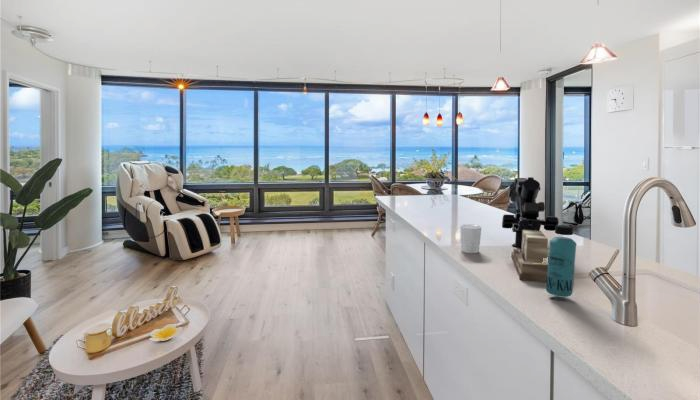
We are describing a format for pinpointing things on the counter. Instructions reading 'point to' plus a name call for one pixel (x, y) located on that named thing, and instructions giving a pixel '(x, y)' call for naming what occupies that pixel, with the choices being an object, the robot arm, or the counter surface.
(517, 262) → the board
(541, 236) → the tea box
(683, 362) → the counter surface
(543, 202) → the robot arm
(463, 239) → the white cup
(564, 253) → the beverage bottle
